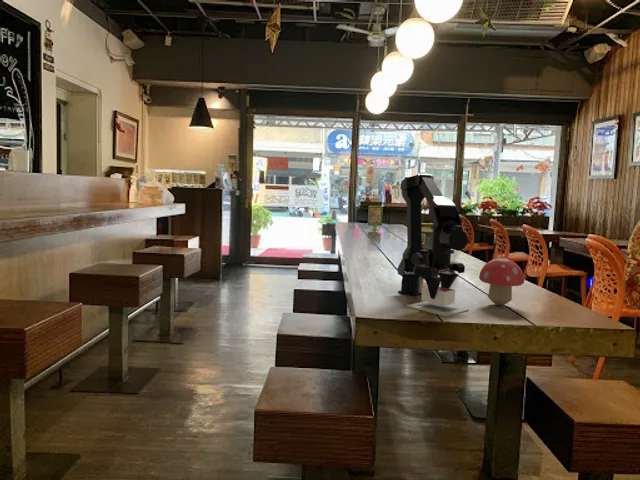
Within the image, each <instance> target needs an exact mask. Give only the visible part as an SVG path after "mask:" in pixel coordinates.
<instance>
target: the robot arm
mask: <svg viewBox="0 0 640 480" xmlns="http://www.w3.org/2000/svg"><path fill="white" fill-rule="evenodd" d="M400 190H401V197H402V198H403V200H404V201H405V203H406V224H407V225H406V226H407V227H406V230H407V231H406V235H407V236H406V238H407V240H406V241H407V245H406V248H405V249H404V251H403V252H402V258H401V260H400V263H399V264H398V266H397V275H399V276H401V287H400V290H397V293H400V294H403V295H409V296H412V297H413V296H417V295H422V290H421V280H422V279H423V280H424V281H425V283H426V286H428V290H429V294H430V297H431V299H435V296H436V294H437V291H438V288H439V287H443V288H448V289H451V287H452V285H453V284H454V282H455V280H456V279H457V278H458V277H459V274H462V273H463V274H464V273H465V268H466V267H465V265H464V263H462V262H456V261H451V258H452V254H455V251H461V250H464V249H465V248H466V247H467V246H468V245H467V244H468V242H469V239H468V235H467V233H466V232H465V231H464V230H463V224H462V223H463V221H462V218H461V216H460V212H459V210H458V207H457V205H456V204H455V203H454V202H453V201H452V200H450V199H448V198H446V197H444V194H443V193H442V192H441V190H440V188H439V187H438V186H437V183H436V182H435V181H434V176H433V174H430V173H418V174H416V175H413V176H407V177H406V176H405V177H404V179H402V180H401V181H400ZM424 199H425V200H426V202H427V205H428V206H429V210H428V215H429V218H430V220H431V222H432V225H431V226H430V229H431V230H432V233H431V235H432V236H431V248H428V249H427V250H426V249H425V248H424V247H423V242H422V241H423V232H422V227H423V226H422V223H423V222H422V203H423V201H424ZM456 272H457V273H456ZM421 278H422V279H421Z"/></svg>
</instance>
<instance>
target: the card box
mask: <svg viewBox="0 0 640 480" xmlns="http://www.w3.org/2000/svg"><path fill="white" fill-rule="evenodd" d="M421 292H422V294H421V298H420V299H421V301H422V302H423V301H427V302H432V303H436V304H440V305H451V304H454V303H455V295H456V294H455V293H456V290H455V289H452V288H450V289H448V288H443V287H441V286H439V288H438V291H437V294H436V296H435V299H431V297H430V294H429V290H428V286H427V285H426V286H422V287H421Z"/></svg>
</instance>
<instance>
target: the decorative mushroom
mask: <svg viewBox="0 0 640 480" xmlns="http://www.w3.org/2000/svg"><path fill="white" fill-rule="evenodd" d="M478 278H479V280H480V281H481V282H482V283H484V284H488V285H489V288H488V294H487V298H488V299H489V300H490V301H491V302H492V303H493V304H494V305H496V306H504V305H507V304H508V303H510V302H511V301H512V300H513V293H512V292H513V290H512V289H513V288H512V287H520V286H522V285H524V283H525V275H524V272H523V269H521V267H520V266H519V265H518V264H517V263H516V262H515V261H513V260H511V259H510V258H509V259H508V258H503V257H499V258H494V259H492V260H490V261H488V262H487V263H485V264H484V265H483V266H482V268H481V269H480V272H479V277H478Z"/></svg>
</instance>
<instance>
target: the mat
mask: <svg viewBox="0 0 640 480" xmlns="http://www.w3.org/2000/svg"><path fill="white" fill-rule="evenodd" d="M406 307H407V308H410V309H411V308H412V309H415V310H419V311H422V312H427V313H432V314H435V315H439V316H443V317H449V316H454V315H458V314H461V313H465V312H468V311H469V310H470V309H469V308H465V307H461V306H456V305H451V304H448V305H440V304H436V303H432V302H427V301H423V300H422V301H420V302H415V303H411V304H410V303H409V304H406Z"/></svg>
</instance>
